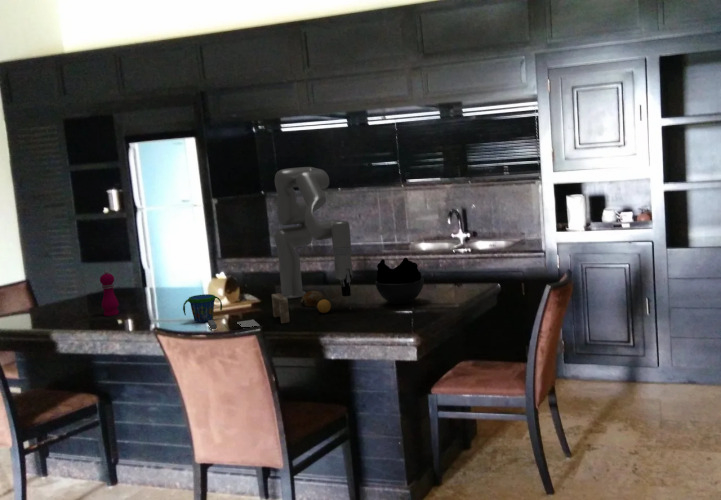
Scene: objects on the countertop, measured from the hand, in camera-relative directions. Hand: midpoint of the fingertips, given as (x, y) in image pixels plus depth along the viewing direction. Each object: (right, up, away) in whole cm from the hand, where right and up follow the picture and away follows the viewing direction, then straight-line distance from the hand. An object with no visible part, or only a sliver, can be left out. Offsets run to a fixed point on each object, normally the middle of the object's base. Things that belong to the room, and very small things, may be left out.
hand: (346, 295), depth 311 cm
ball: (-9, -4, -2) cm, 10 cm away
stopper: (-52, -12, -15) cm, 55 cm away
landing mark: (-41, -11, -13) cm, 44 cm away
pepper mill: (-105, -10, +28) cm, 109 cm away
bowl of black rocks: (+23, -4, +5) cm, 23 cm away
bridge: (-26, -9, -8) cm, 28 cm away
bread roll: (-15, -5, +16) cm, 22 cm away
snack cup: (-58, -11, 0) cm, 59 cm away
